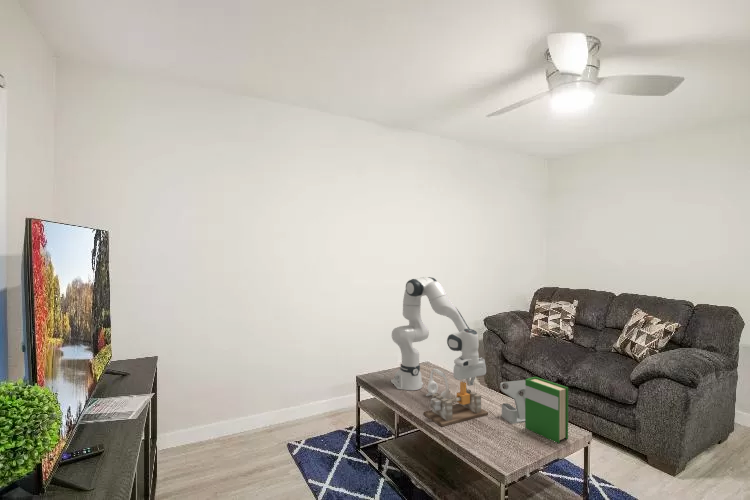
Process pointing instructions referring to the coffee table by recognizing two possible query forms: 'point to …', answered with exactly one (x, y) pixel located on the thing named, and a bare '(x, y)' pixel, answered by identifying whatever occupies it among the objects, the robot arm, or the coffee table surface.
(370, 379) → the coffee table surface
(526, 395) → the hardback book
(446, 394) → the headset
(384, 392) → the coffee table surface
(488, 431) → the coffee table surface
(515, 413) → the phone holder
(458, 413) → the cord comb board
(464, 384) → the sleeve
